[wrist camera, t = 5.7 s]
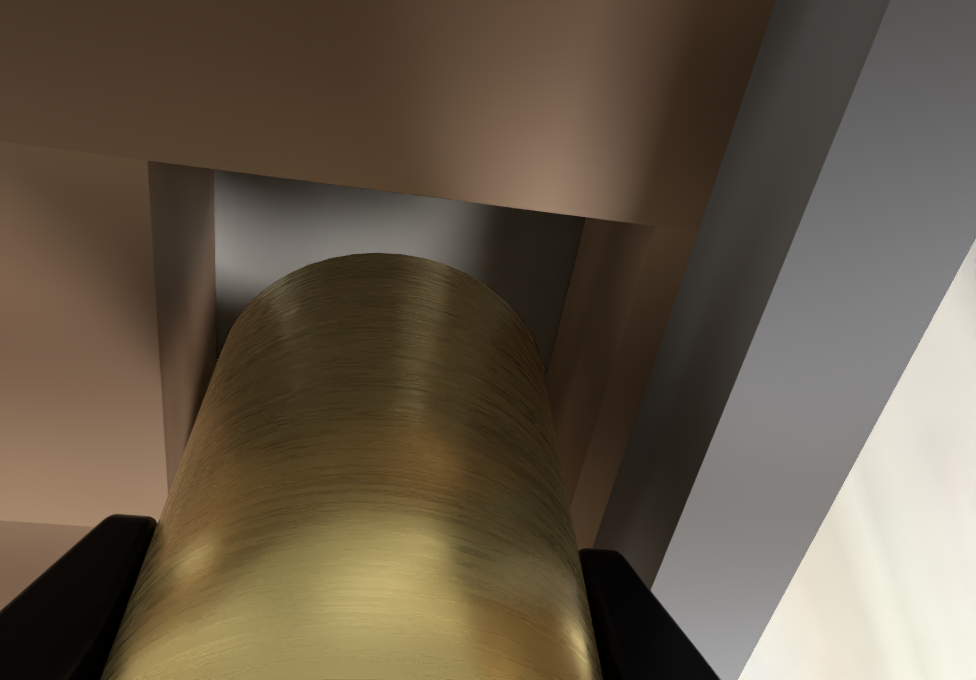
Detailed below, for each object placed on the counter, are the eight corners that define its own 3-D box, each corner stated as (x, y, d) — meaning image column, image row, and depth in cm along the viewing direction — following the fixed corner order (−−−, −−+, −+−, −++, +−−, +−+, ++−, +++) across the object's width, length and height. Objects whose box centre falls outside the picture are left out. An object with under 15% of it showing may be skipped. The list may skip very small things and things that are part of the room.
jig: (604, 562, 17) (661, 821, 13) (-413, 491, 14) (-762, 783, 10) (837, -103, 10) (1118, -27, 6) (-961, -450, 8) (-2579, -721, 4)
